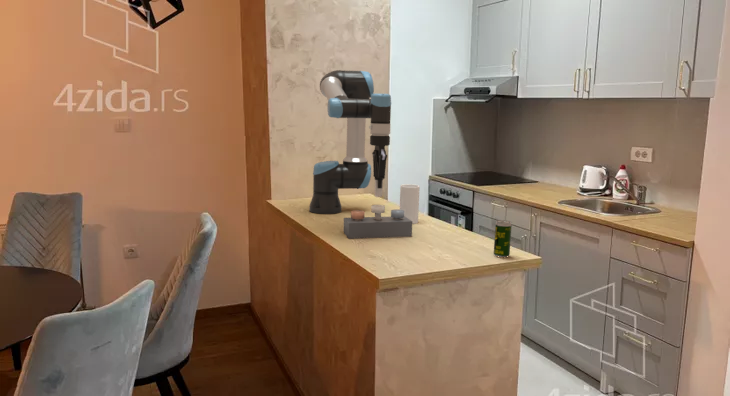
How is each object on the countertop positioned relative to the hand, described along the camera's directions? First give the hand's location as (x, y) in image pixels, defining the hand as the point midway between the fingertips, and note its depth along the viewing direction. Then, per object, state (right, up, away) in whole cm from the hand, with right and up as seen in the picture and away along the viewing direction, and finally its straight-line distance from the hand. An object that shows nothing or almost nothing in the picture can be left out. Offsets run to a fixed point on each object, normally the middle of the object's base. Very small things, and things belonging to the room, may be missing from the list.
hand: (378, 196), depth 215 cm
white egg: (0, -11, +2) cm, 11 cm away
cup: (+14, -11, +27) cm, 33 cm away
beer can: (+42, -21, -24) cm, 52 cm away
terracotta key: (-8, -13, +1) cm, 16 cm away
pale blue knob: (+7, -13, +4) cm, 16 cm away
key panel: (0, -15, +3) cm, 15 cm away
